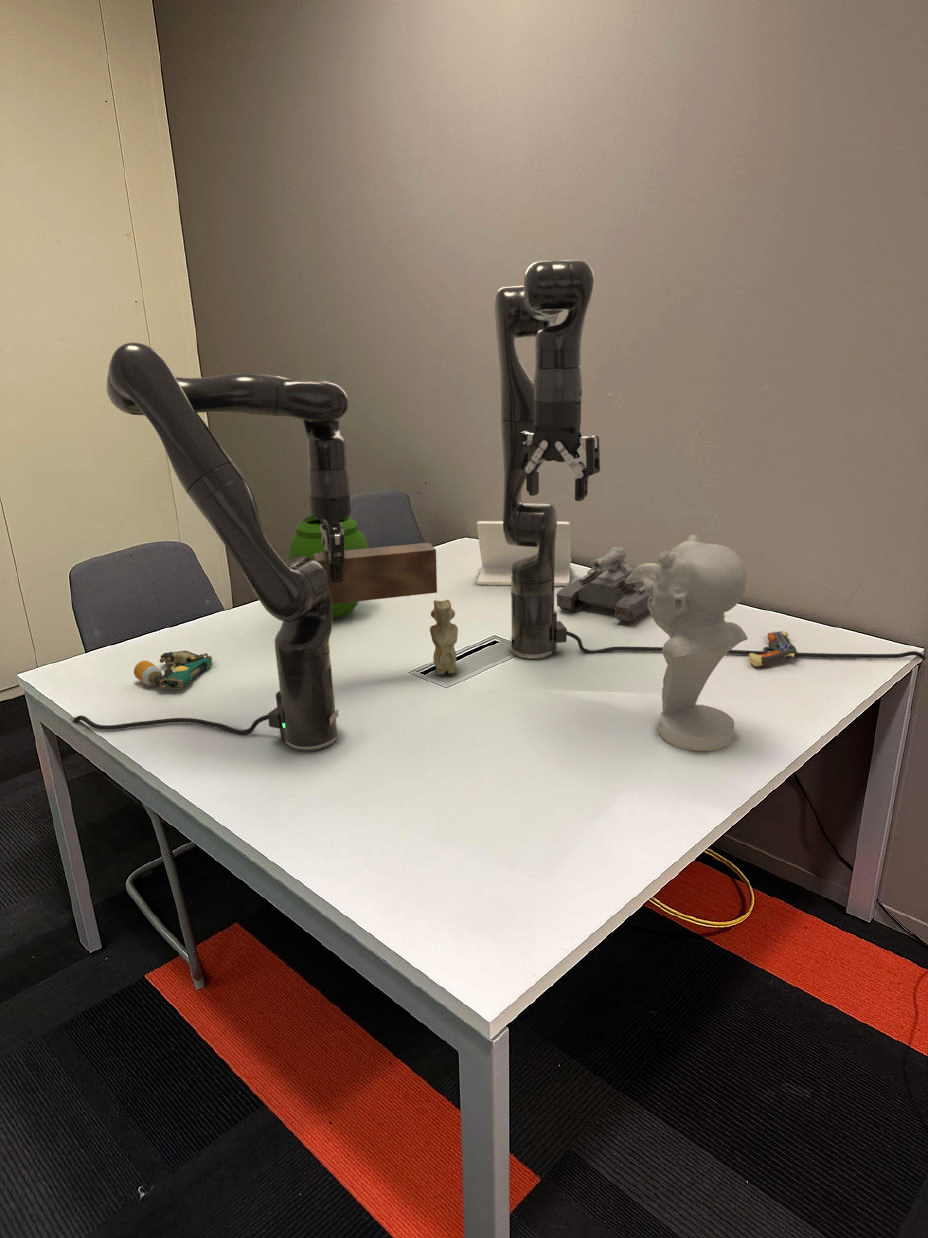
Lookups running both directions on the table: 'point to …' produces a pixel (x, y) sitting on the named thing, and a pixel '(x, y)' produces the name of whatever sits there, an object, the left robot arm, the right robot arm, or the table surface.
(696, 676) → the bust sculpture
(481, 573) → the tablet stand
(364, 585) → the bar
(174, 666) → the spray gun
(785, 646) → the toy gun
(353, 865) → the table surface
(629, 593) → the toy
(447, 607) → the sculpture
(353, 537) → the vase
